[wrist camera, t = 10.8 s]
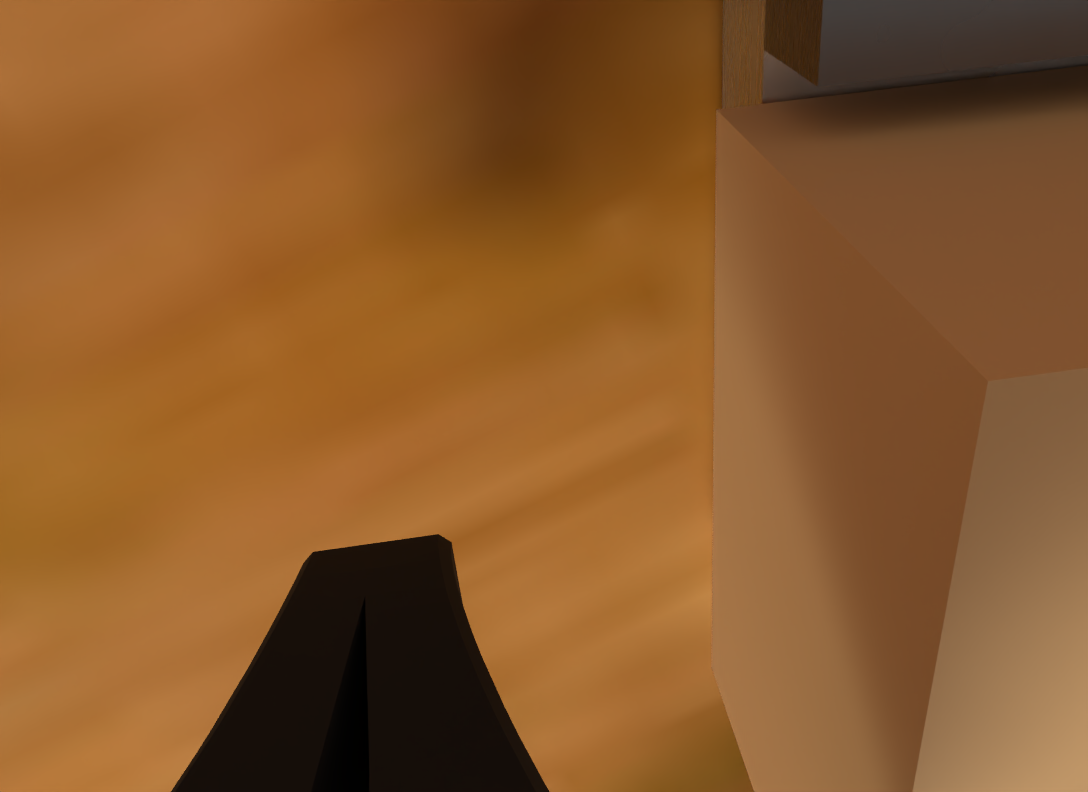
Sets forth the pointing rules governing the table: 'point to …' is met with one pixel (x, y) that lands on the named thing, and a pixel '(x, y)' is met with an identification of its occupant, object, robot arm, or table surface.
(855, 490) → the tan cardboard box
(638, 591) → the table surface
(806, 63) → the frame
